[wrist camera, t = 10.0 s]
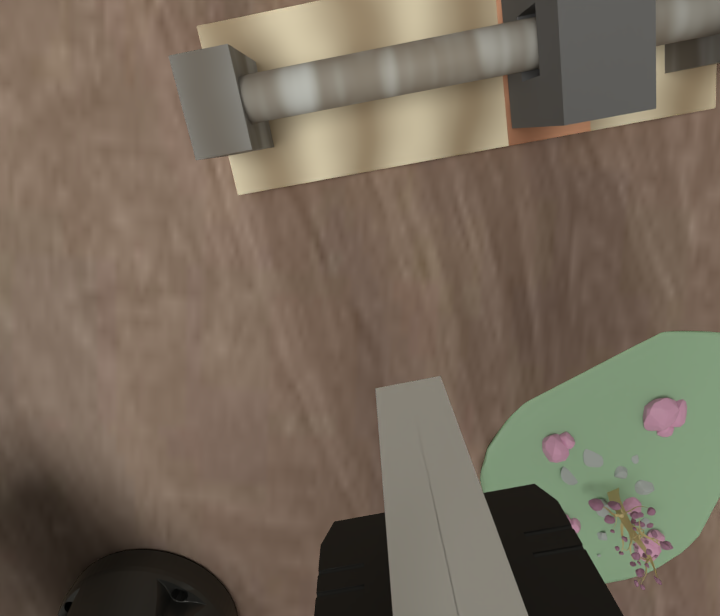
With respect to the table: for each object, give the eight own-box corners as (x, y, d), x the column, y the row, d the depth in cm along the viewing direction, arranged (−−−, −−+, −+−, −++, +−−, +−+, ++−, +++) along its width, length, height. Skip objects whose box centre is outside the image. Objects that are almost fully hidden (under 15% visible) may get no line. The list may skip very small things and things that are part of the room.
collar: (511, 128, 32) (564, 125, 24) (499, -19, 30) (552, -83, 21) (578, 116, 32) (656, 108, 23) (571, -34, 30) (655, -105, 21)
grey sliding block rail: (243, 192, 36) (208, 208, 28) (204, 31, 33) (153, -1, 25) (700, 109, 33) (797, 101, 26) (704, -73, 30) (814, -143, 23)
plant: (607, 259, 37) (678, 296, 29) (837, 379, 40) (966, 446, 31) (435, 519, 44) (450, 611, 36) (639, 607, 47) (699, 713, 38)
